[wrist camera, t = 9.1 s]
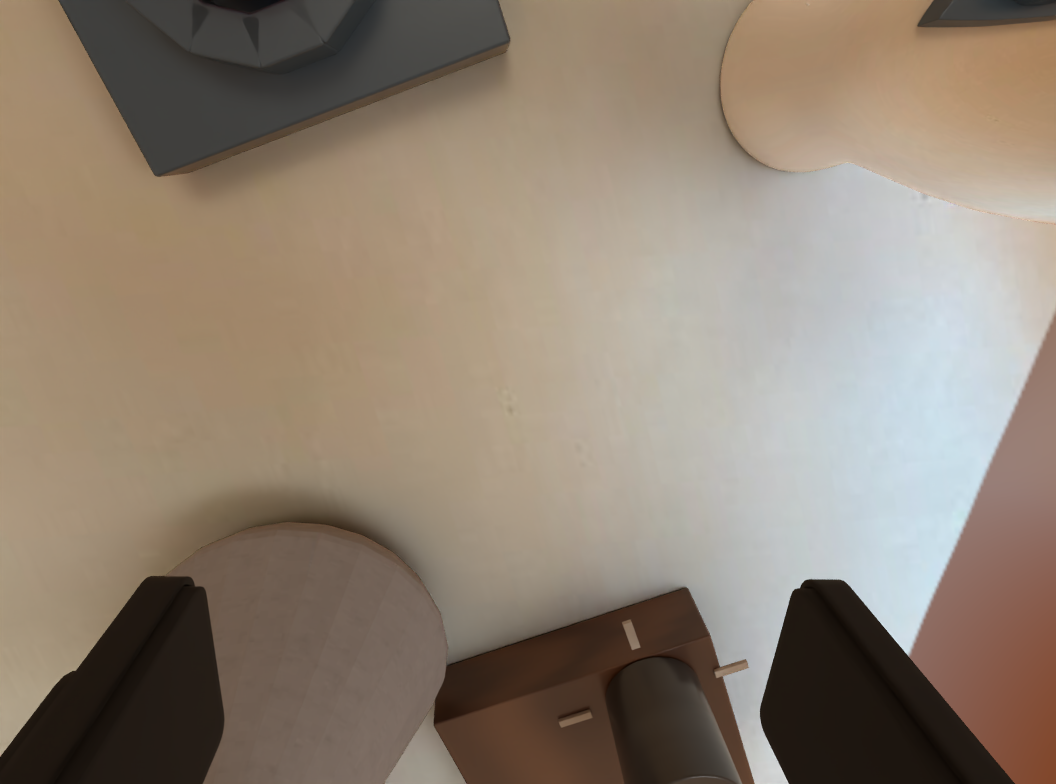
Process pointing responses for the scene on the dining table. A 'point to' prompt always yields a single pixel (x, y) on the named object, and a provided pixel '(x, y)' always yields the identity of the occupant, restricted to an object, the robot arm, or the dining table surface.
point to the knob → (666, 726)
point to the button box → (268, 64)
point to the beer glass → (903, 95)
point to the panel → (572, 696)
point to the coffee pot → (316, 654)
